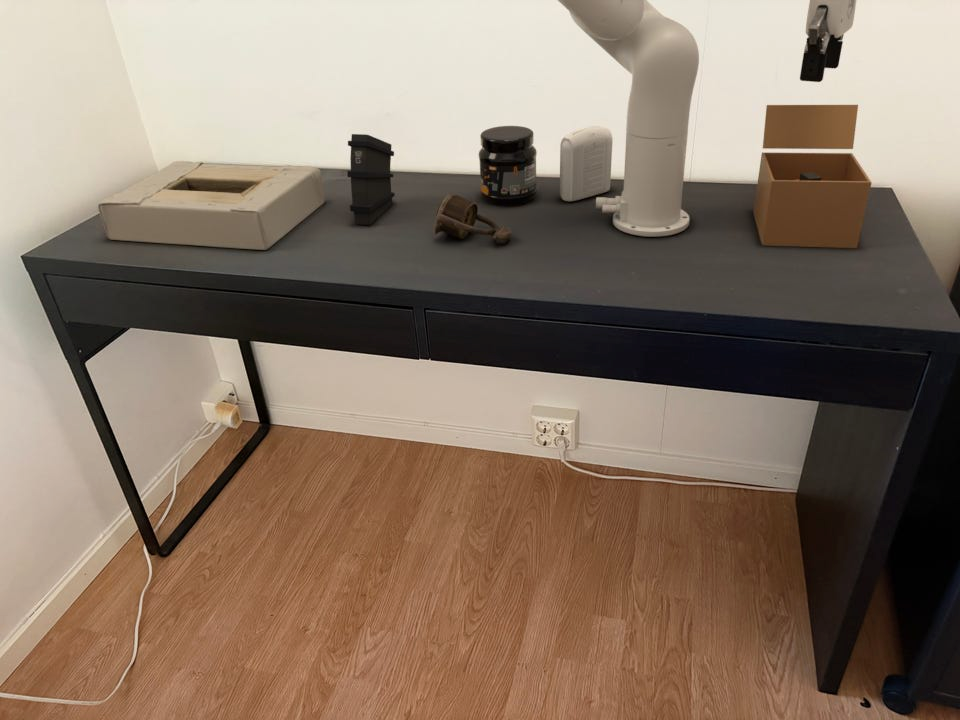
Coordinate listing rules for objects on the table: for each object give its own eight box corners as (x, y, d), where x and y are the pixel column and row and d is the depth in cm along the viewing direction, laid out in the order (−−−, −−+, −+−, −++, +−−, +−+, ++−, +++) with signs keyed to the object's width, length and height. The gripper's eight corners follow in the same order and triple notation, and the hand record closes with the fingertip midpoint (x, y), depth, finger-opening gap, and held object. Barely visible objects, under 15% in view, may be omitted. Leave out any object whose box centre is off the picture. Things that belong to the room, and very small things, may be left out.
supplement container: (482, 188, 149) (478, 125, 143) (536, 186, 148) (535, 123, 142) (479, 208, 140) (476, 142, 134) (537, 206, 139) (536, 140, 133)
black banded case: (343, 222, 133) (348, 133, 131) (375, 227, 145) (379, 146, 144) (363, 224, 132) (368, 134, 130) (393, 228, 144) (398, 146, 142)
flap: (766, 104, 124) (766, 105, 125) (762, 148, 126) (762, 148, 126) (858, 104, 122) (857, 104, 122) (853, 148, 123) (852, 149, 123)
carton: (762, 245, 120) (771, 180, 115) (753, 212, 132) (761, 152, 126) (856, 248, 118) (871, 182, 112) (839, 214, 129) (852, 153, 124)
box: (327, 202, 147) (181, 194, 155) (321, 162, 143) (170, 156, 151) (270, 254, 129) (107, 242, 136) (261, 210, 124) (92, 200, 132)
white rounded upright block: (598, 185, 147) (600, 119, 140) (613, 191, 144) (616, 124, 137) (556, 198, 142) (556, 130, 136) (570, 204, 139) (571, 136, 133)
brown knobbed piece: (467, 189, 133) (422, 192, 126) (521, 198, 124) (476, 202, 118) (465, 231, 135) (421, 236, 129) (518, 243, 127) (474, 249, 120)
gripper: (854, -45, 103) (830, 88, 112) (880, -57, 114) (857, 64, 124) (796, -44, 106) (778, 84, 115) (827, -56, 118) (808, 61, 127)
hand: (819, 74), depth 119 cm, fingers open, 9 cm apart
